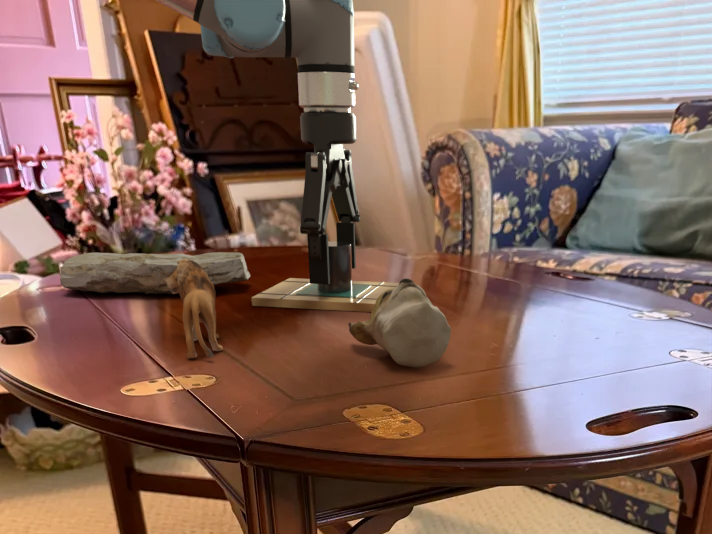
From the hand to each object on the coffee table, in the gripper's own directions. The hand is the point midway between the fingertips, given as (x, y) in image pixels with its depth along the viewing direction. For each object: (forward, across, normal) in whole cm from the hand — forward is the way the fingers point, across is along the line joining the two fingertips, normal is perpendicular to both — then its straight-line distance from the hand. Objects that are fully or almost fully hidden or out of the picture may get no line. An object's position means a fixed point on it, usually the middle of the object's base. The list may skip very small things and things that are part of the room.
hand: (334, 275), depth 113 cm
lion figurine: (+4, -30, +8) cm, 31 cm away
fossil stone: (+4, 0, +28) cm, 29 cm away
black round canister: (+2, 0, 0) cm, 2 cm away
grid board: (+3, 0, 0) cm, 3 cm away
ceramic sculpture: (+4, -29, -17) cm, 34 cm away
